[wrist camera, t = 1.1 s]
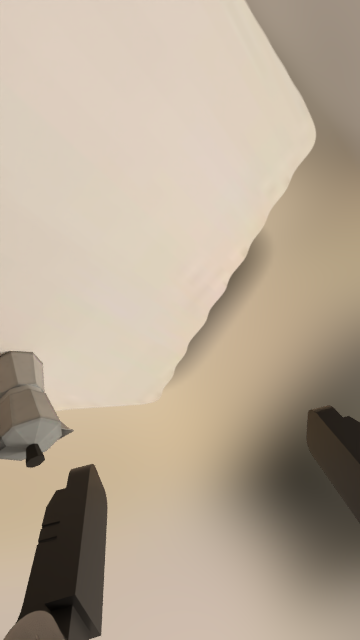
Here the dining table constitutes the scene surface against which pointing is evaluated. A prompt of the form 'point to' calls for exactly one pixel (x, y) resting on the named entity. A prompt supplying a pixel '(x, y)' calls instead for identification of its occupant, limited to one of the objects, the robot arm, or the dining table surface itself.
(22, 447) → the coffee maker
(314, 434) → the robot arm
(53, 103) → the dining table surface
